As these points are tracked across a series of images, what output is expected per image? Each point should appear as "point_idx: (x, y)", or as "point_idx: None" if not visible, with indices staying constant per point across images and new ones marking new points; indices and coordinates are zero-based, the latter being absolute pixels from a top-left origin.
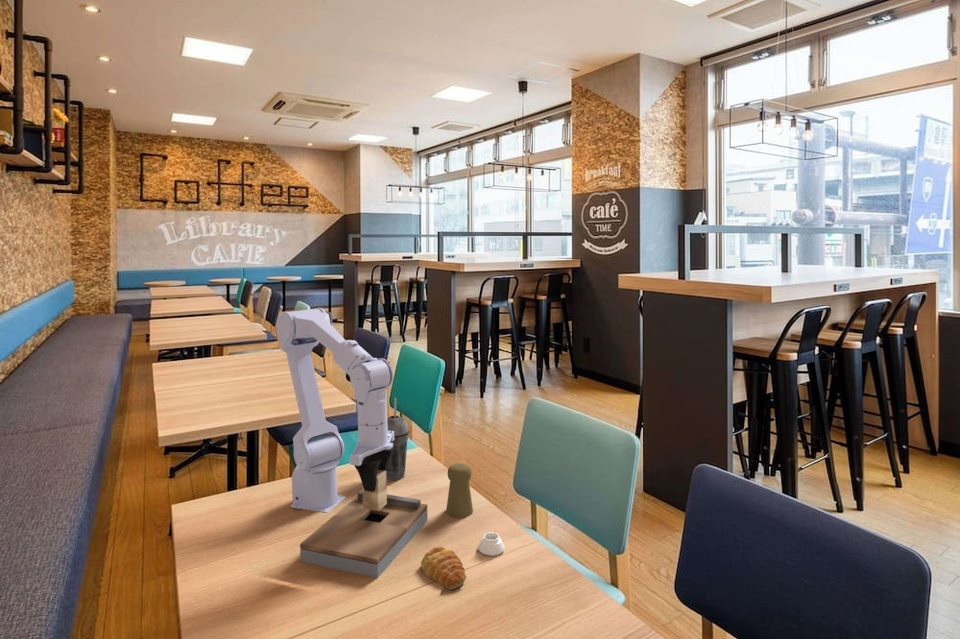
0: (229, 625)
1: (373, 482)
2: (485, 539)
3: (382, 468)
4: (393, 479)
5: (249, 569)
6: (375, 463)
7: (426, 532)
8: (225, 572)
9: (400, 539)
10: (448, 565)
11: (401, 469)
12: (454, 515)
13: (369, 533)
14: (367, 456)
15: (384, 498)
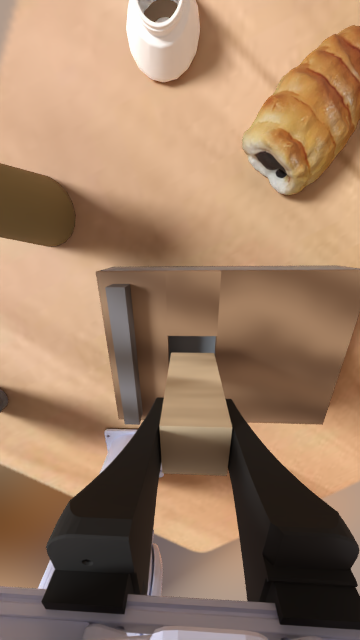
0: None
1: (247, 424)
2: (180, 10)
3: (155, 445)
4: (4, 394)
5: (322, 442)
6: (347, 534)
7: (150, 251)
8: (332, 460)
9: (251, 269)
10: (352, 77)
11: None
12: (68, 211)
13: (265, 336)
14: (330, 624)
15: (182, 363)
